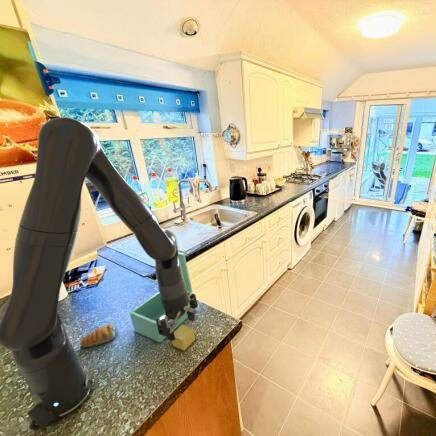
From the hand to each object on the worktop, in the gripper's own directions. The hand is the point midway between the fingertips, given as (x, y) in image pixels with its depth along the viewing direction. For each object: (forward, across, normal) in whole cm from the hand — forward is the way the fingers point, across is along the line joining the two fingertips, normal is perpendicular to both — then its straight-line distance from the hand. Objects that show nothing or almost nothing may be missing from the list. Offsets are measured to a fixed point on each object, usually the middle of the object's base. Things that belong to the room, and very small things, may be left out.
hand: (182, 329), depth 80 cm
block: (+6, 0, 0) cm, 6 cm away
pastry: (+6, +10, -28) cm, 30 cm away
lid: (-12, -13, -14) cm, 22 cm away
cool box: (+6, -5, -14) cm, 16 cm away
